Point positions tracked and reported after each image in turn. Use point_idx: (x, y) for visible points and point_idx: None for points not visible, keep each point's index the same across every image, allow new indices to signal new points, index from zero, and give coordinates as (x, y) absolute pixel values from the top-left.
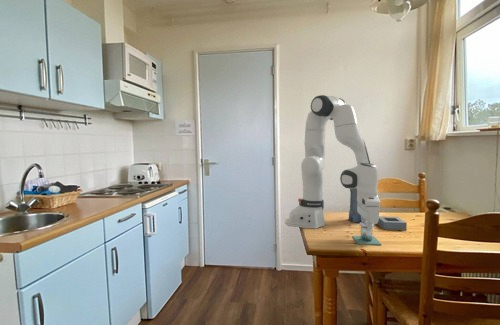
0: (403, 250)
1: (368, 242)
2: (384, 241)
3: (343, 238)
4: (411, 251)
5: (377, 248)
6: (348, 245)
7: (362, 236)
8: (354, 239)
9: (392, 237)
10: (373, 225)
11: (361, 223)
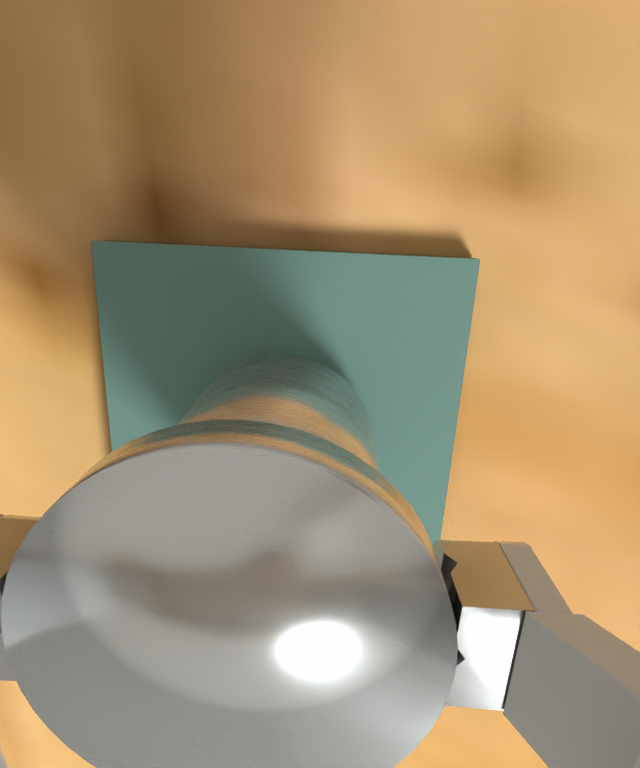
0: (17, 704)
1: (156, 420)
2: None
3: (391, 45)
4: (8, 756)
5: (3, 467)
6: (18, 41)
7: (224, 377)
8: (331, 251)
9: (437, 761)
10: (103, 754)
11: (218, 503)
